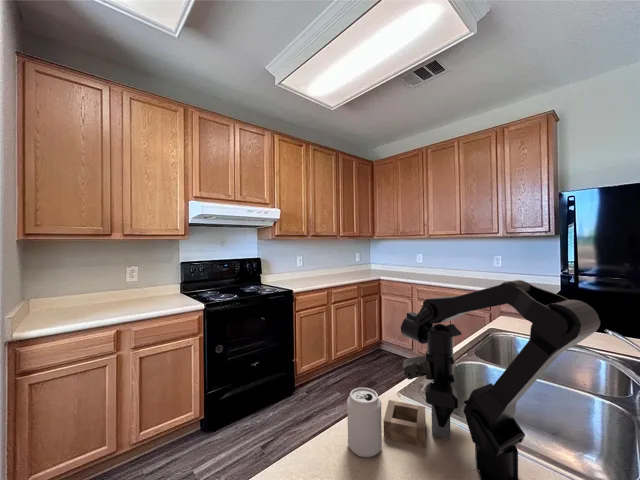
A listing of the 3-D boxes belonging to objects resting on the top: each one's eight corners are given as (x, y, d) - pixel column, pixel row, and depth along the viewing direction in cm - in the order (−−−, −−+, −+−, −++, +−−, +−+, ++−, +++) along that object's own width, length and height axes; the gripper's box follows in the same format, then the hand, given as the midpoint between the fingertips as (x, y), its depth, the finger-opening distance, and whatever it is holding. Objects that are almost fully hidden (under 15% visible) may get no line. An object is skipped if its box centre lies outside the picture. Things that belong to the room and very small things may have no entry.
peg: (449, 429, 69) (449, 388, 69) (450, 440, 65) (450, 396, 65) (431, 425, 70) (431, 385, 70) (431, 435, 67) (431, 393, 67)
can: (382, 462, 59) (381, 405, 59) (346, 457, 61) (345, 401, 60) (381, 437, 66) (380, 386, 66) (349, 433, 68) (348, 383, 68)
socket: (425, 422, 71) (425, 406, 71) (424, 447, 63) (424, 429, 63) (389, 414, 75) (388, 399, 75) (383, 437, 66) (383, 420, 66)
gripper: (407, 333, 79) (408, 389, 79) (400, 361, 62) (402, 432, 62) (451, 338, 75) (452, 397, 75) (457, 369, 58) (458, 445, 58)
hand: (440, 415), depth 68 cm, fingers open, 8 cm apart
